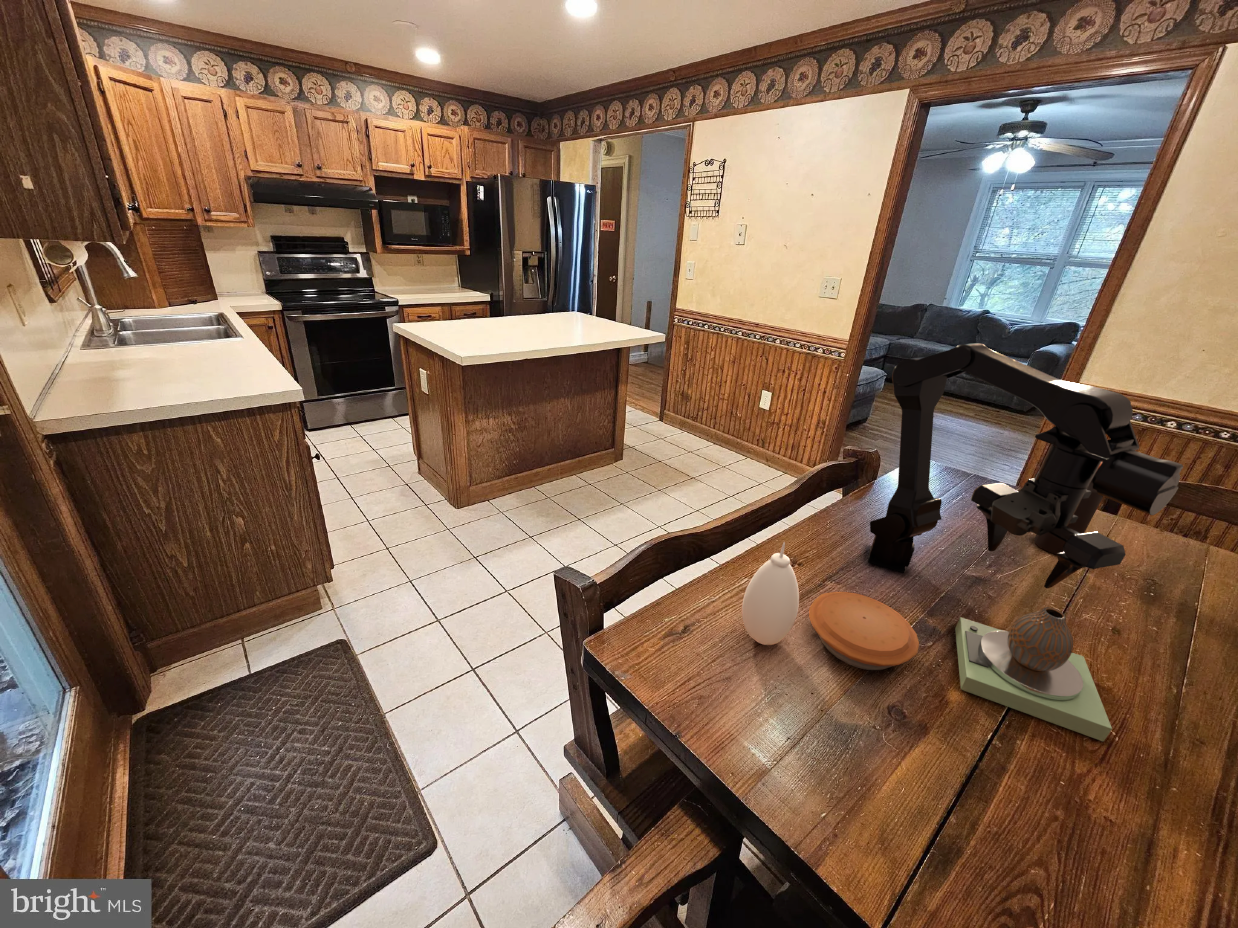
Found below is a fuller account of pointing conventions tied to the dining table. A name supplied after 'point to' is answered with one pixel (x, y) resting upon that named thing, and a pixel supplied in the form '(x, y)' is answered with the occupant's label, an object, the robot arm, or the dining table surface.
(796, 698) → the dining table surface
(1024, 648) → the vase
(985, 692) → the scale
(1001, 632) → the scale pan
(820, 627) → the pie
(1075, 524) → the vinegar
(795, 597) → the sauce bottle
